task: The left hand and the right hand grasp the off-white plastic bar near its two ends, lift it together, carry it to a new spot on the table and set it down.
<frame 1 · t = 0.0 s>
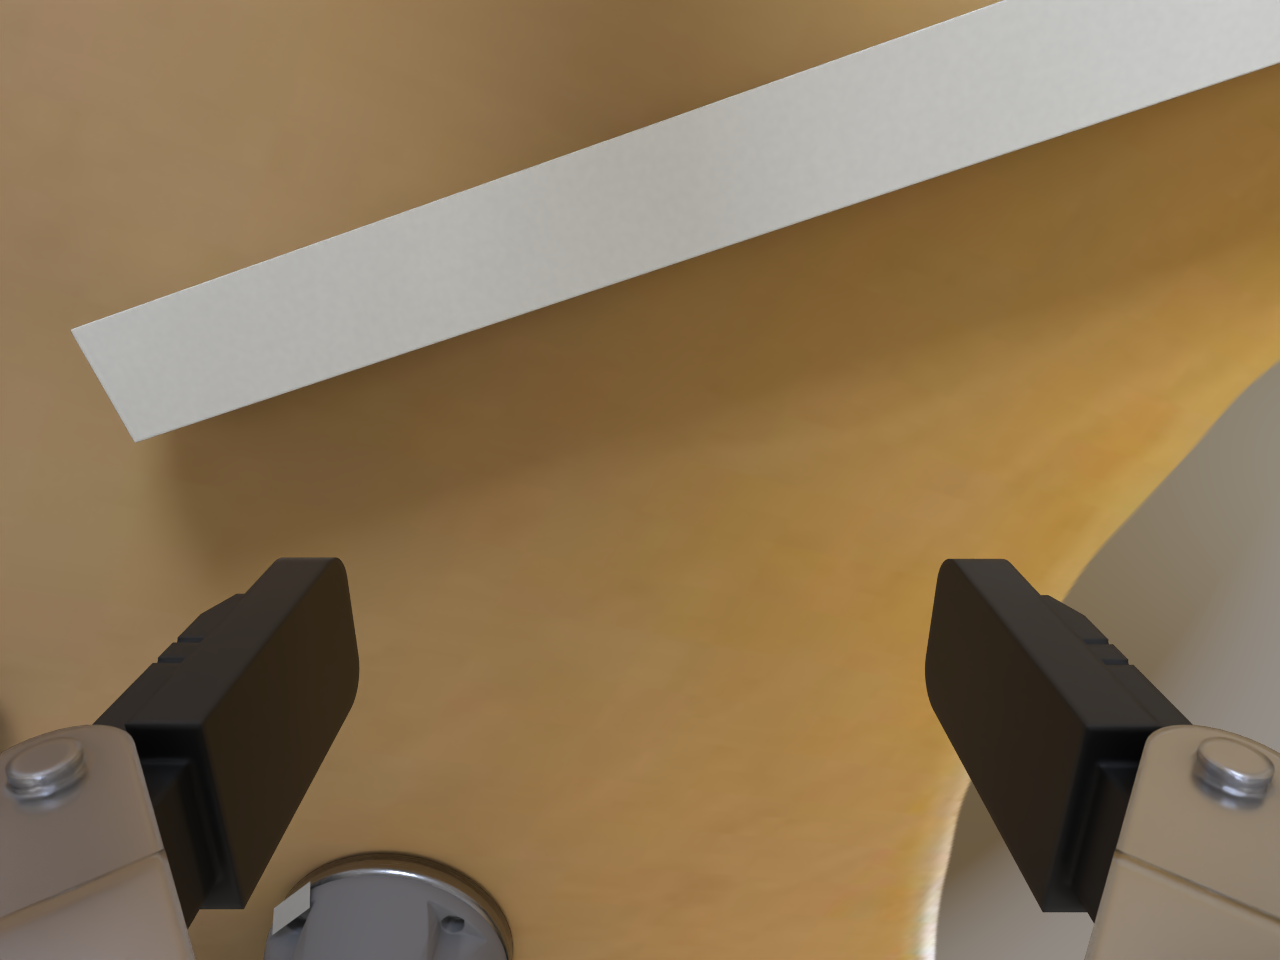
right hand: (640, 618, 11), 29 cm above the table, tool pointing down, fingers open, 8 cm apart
bar: (820, 136, 36), on the table
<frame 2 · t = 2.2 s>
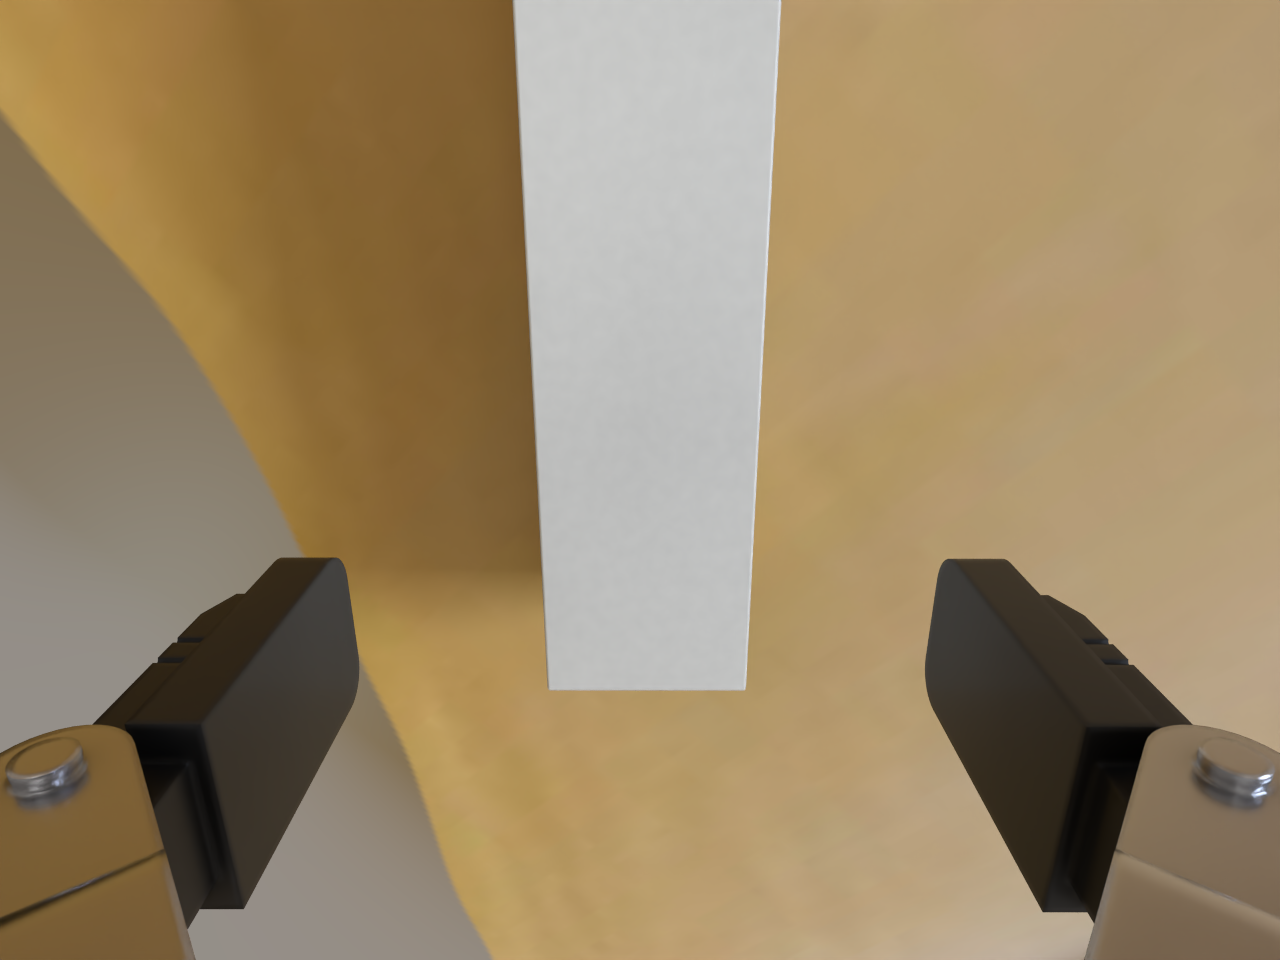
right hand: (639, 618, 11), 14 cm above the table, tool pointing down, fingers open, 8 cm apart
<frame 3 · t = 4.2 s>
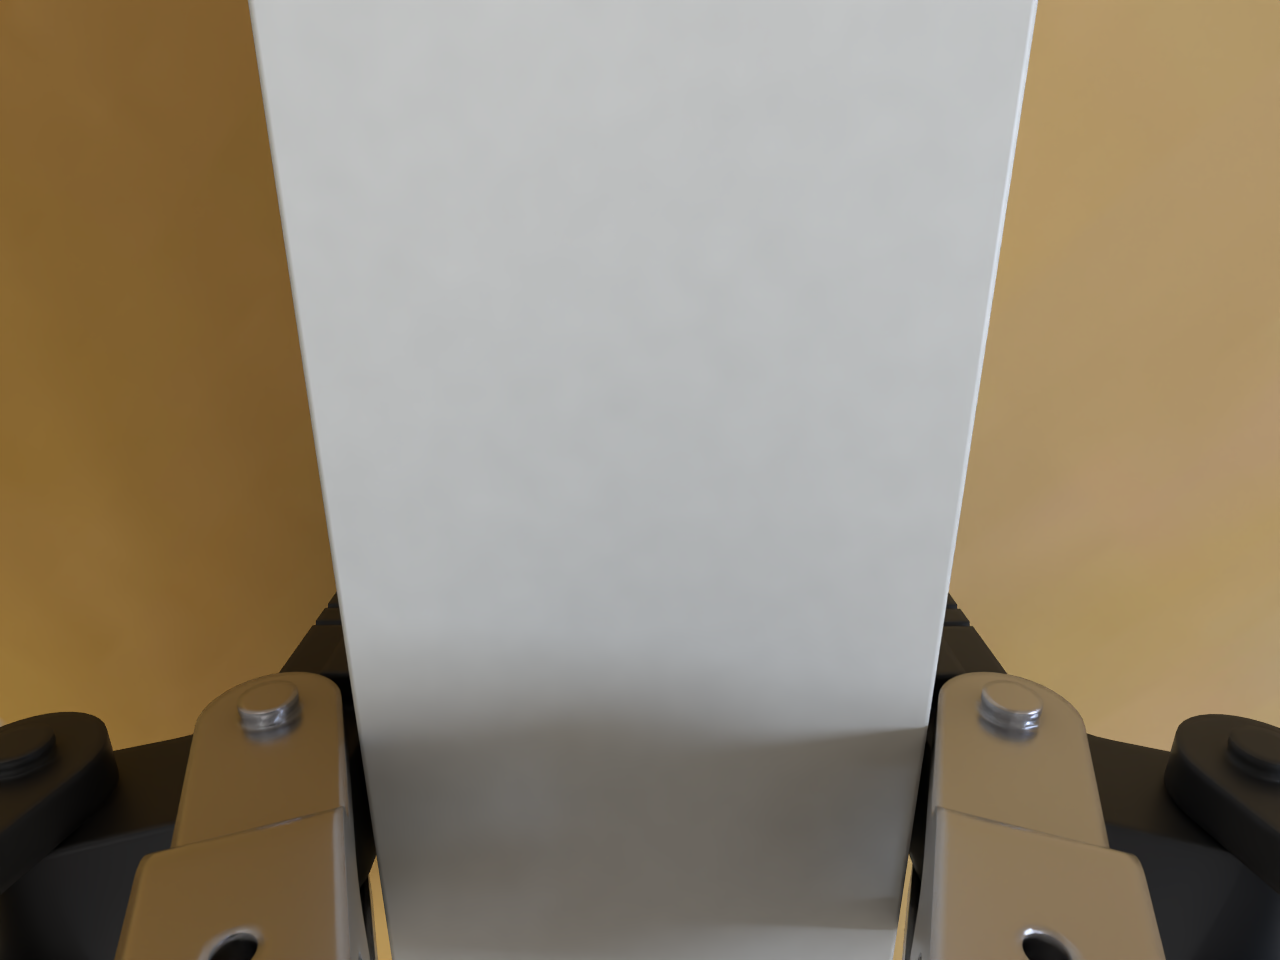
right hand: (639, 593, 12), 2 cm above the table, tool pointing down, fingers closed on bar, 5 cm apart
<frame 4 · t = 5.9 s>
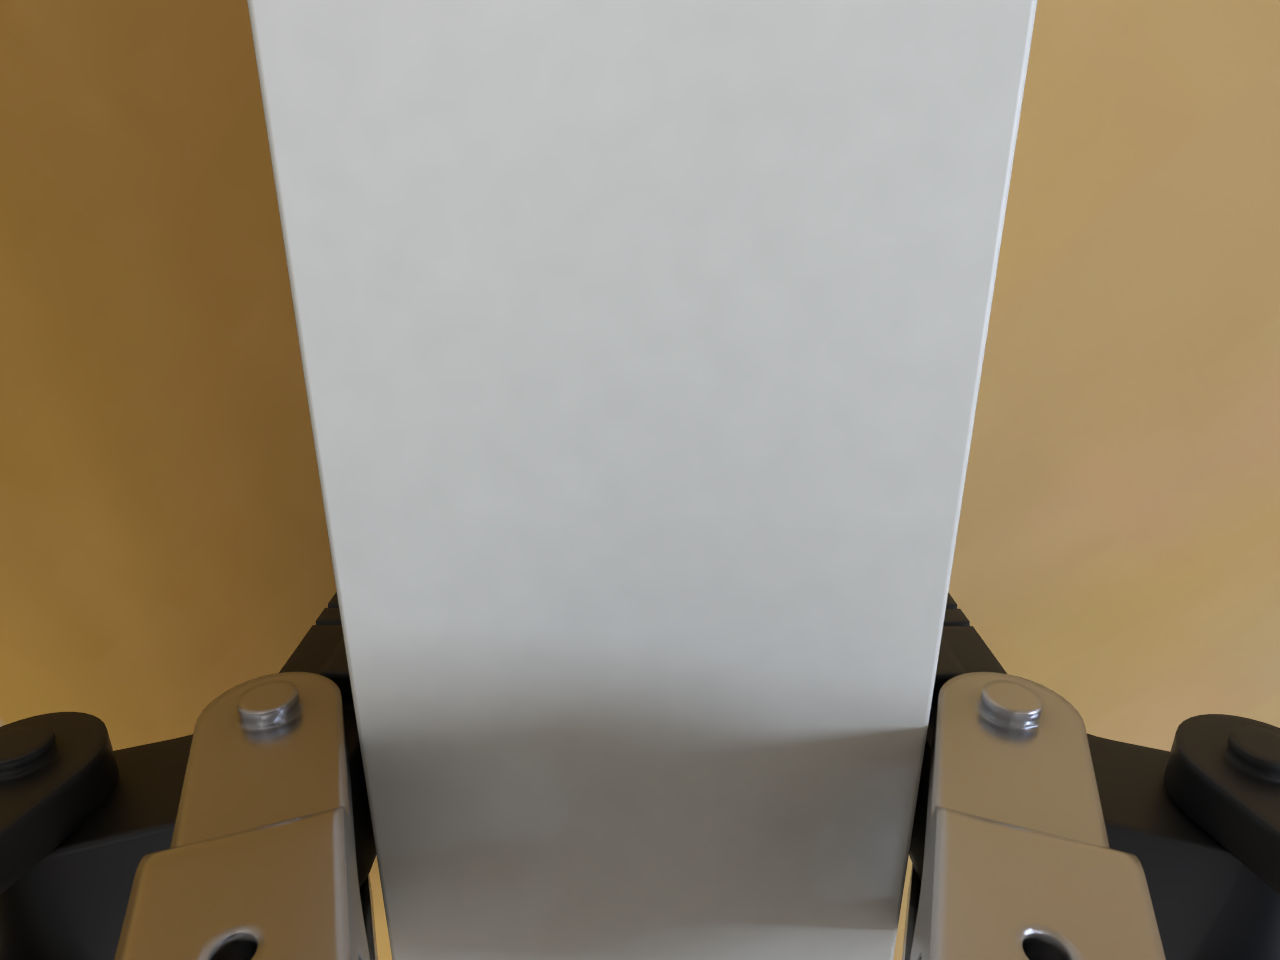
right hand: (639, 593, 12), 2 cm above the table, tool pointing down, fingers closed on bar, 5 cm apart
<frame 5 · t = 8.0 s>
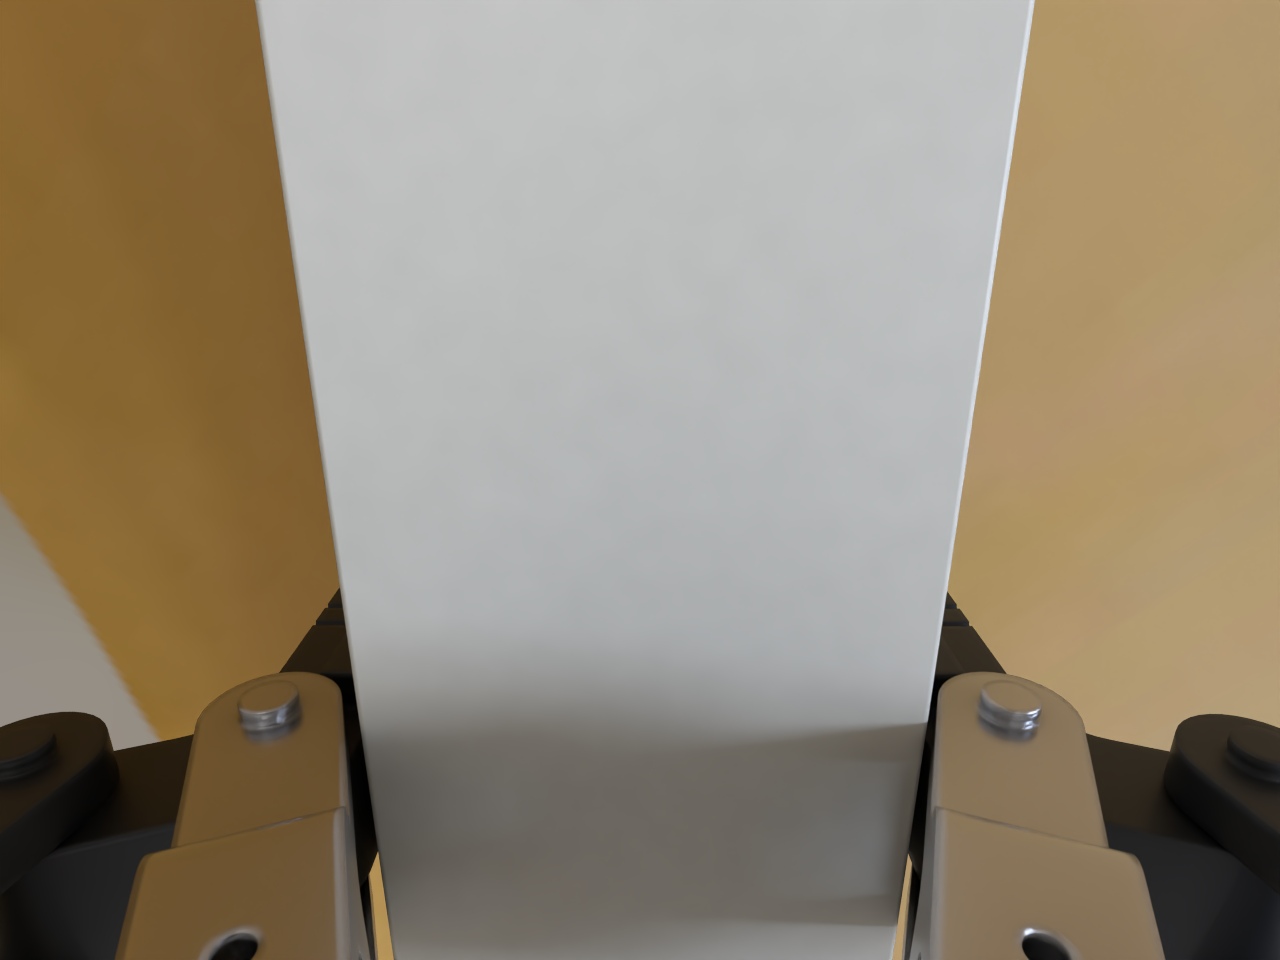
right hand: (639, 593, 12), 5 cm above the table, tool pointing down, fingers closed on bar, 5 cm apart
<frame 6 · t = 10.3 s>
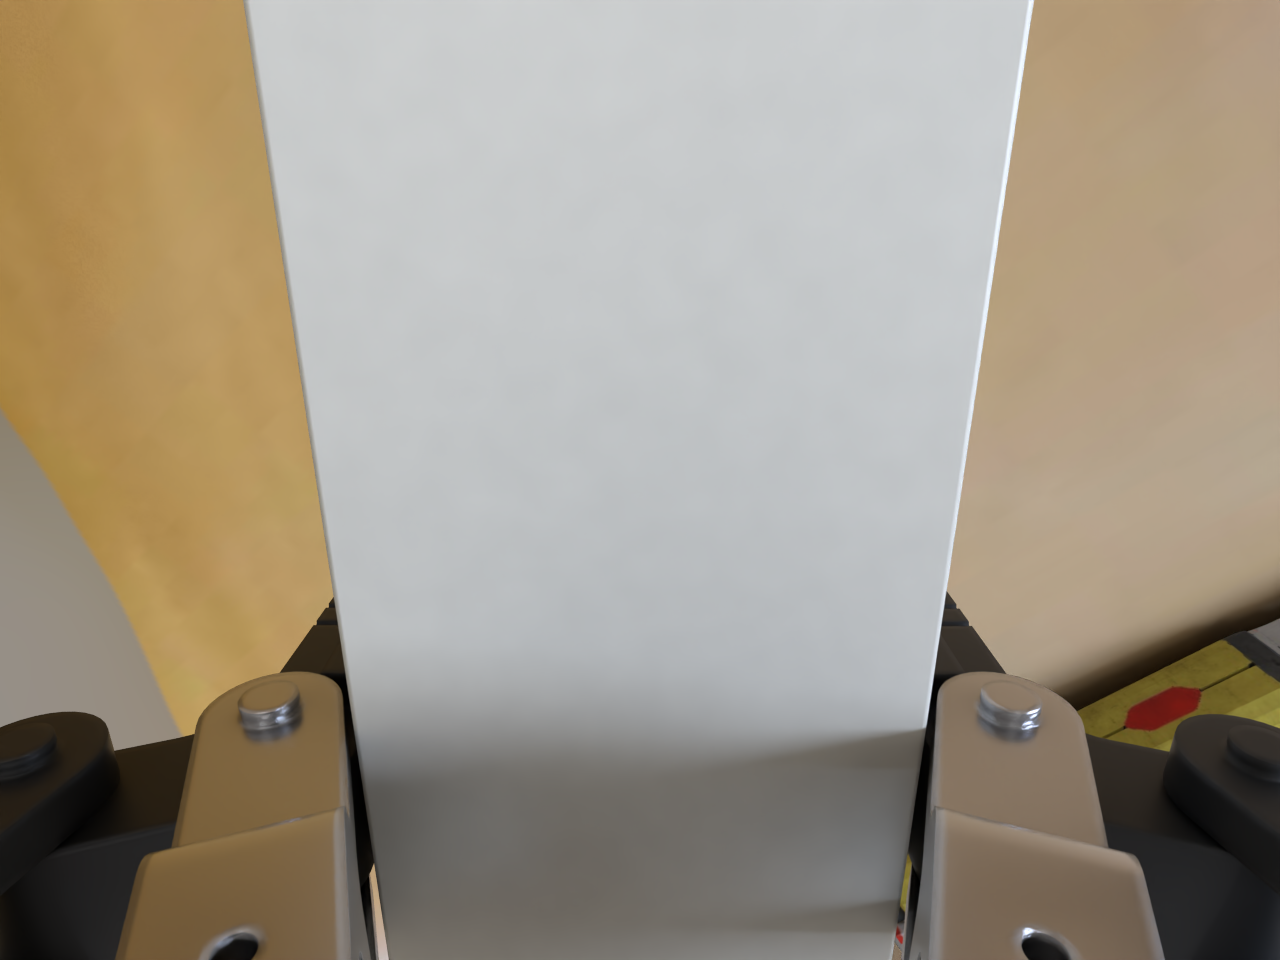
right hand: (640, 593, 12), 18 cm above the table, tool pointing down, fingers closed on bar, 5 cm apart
toy gun: (1152, 801, 35), on the table
when the left hand's fingers open (2 cm above the table, at t = 13.1 s): bar drops 2 cm, on the table.
when the right hand's fingers open (4 cm above the table, at t = 13.3 s): bar drops 1 cm, on the table.
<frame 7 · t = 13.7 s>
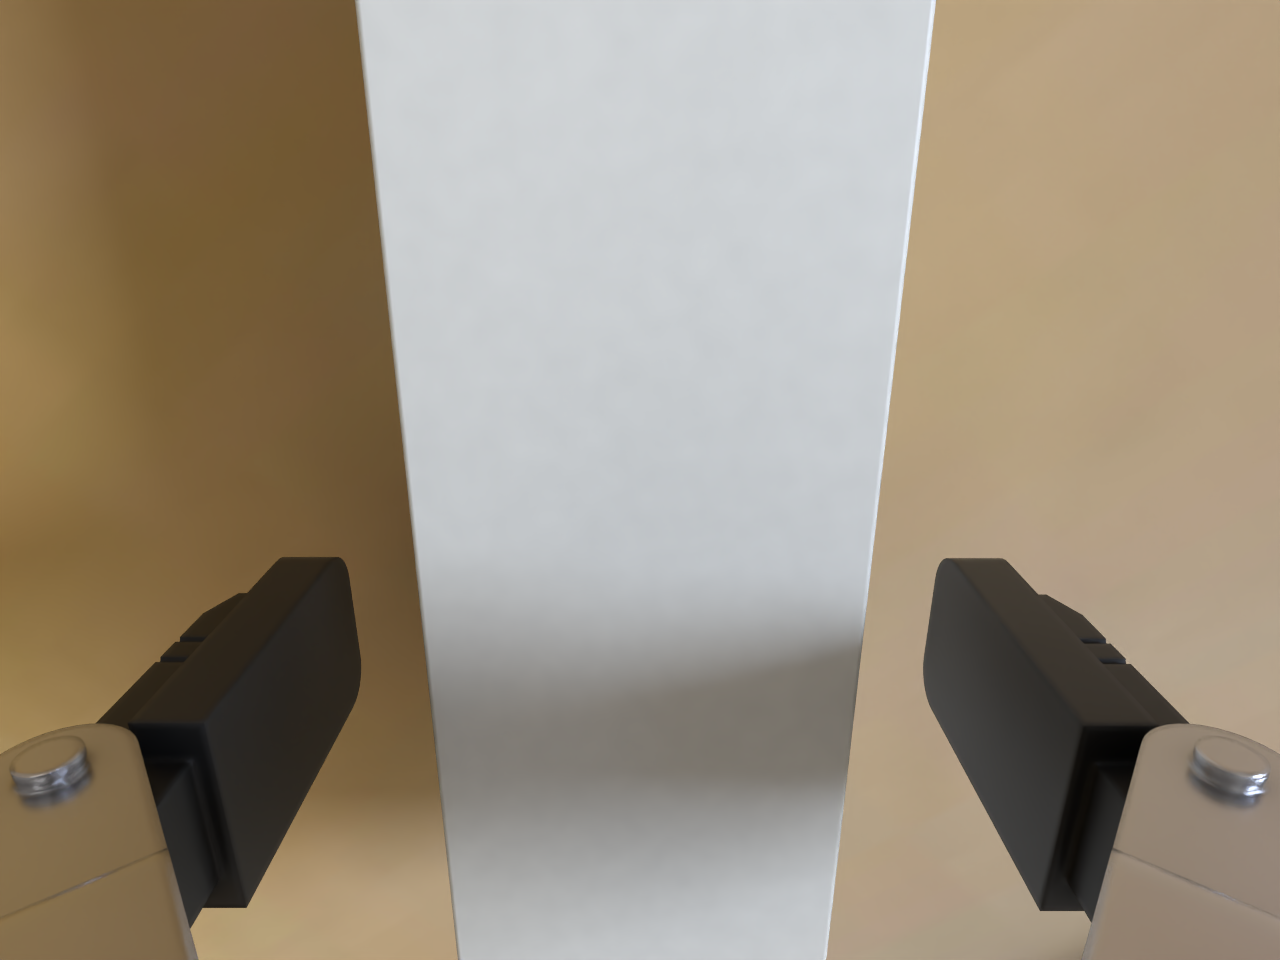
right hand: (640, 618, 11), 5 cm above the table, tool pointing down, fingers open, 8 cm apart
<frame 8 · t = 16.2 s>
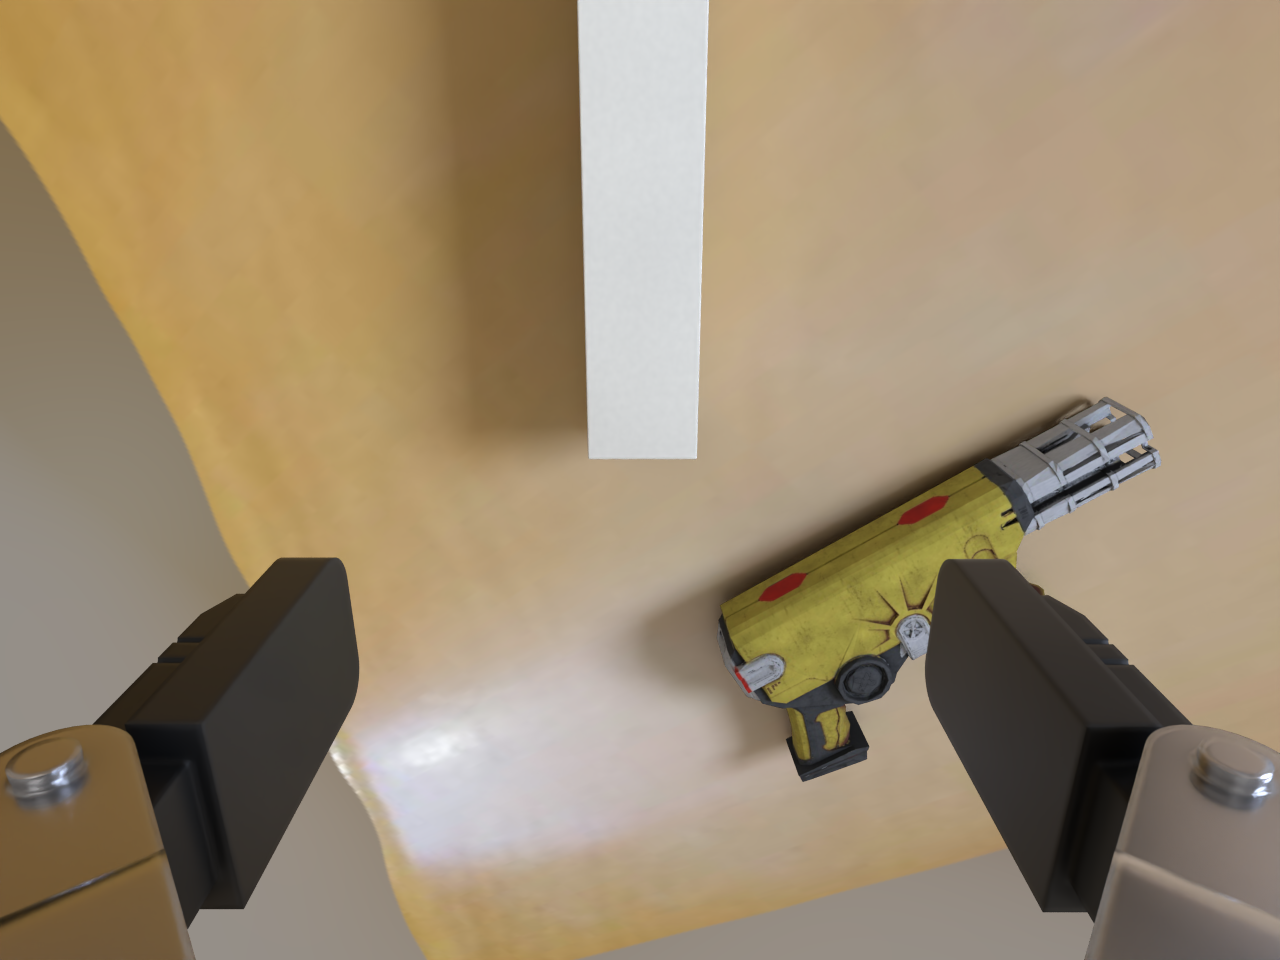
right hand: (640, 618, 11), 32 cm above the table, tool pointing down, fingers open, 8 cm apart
toy gun: (942, 600, 48), on the table
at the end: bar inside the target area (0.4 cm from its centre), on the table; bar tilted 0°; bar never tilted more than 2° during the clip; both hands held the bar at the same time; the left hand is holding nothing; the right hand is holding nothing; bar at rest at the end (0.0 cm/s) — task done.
